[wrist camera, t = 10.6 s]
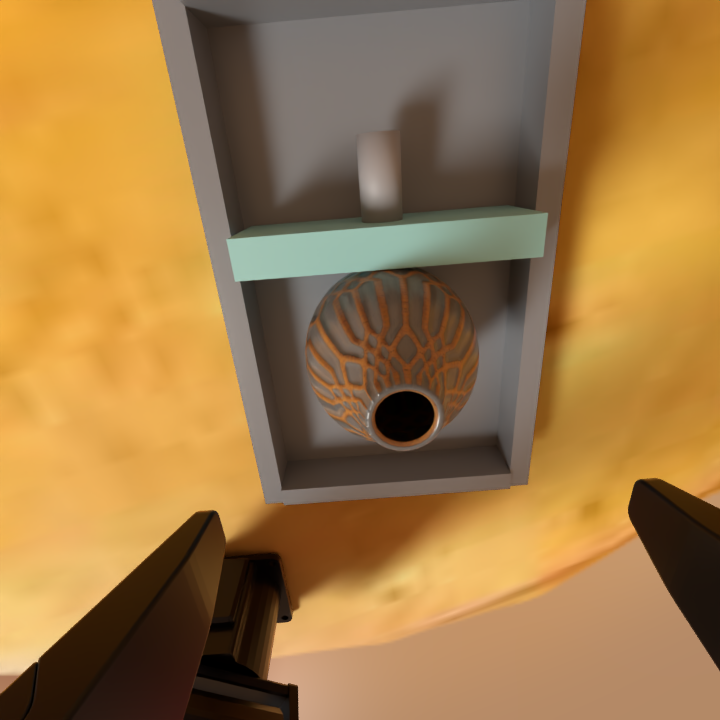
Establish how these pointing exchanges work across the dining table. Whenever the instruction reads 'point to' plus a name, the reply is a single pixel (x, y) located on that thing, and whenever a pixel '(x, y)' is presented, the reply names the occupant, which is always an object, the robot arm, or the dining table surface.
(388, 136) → the pusher
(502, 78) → the gray rectangular tray
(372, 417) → the vase
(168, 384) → the dining table surface
